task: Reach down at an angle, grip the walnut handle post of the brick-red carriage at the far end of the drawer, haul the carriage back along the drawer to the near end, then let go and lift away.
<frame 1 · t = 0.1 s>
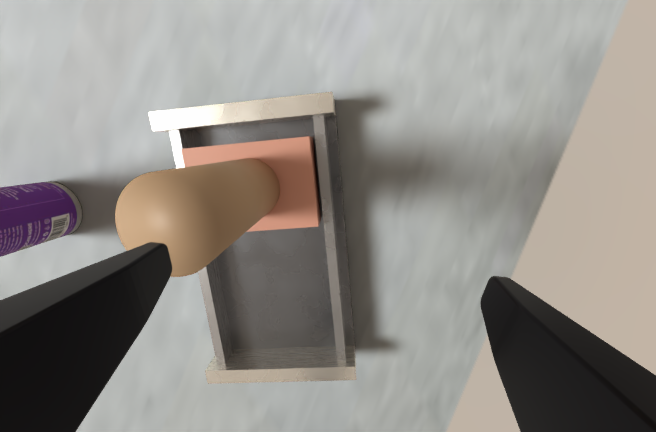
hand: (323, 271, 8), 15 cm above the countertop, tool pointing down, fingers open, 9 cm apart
container: (58, 208, 26), on the countertop
carriage: (229, 197, 17), point 7 cm above the countertop, slide at 5.0 cm
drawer: (273, 242, 25), on the countertop
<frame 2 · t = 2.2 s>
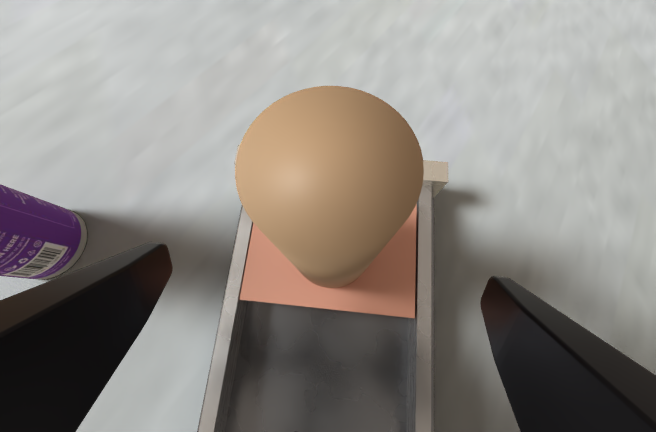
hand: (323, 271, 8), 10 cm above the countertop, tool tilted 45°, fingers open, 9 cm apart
container: (54, 243, 20), on the countertop
carriage: (331, 231, 12), point 7 cm above the countertop, slide at 5.0 cm
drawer: (323, 344, 17), on the countertop
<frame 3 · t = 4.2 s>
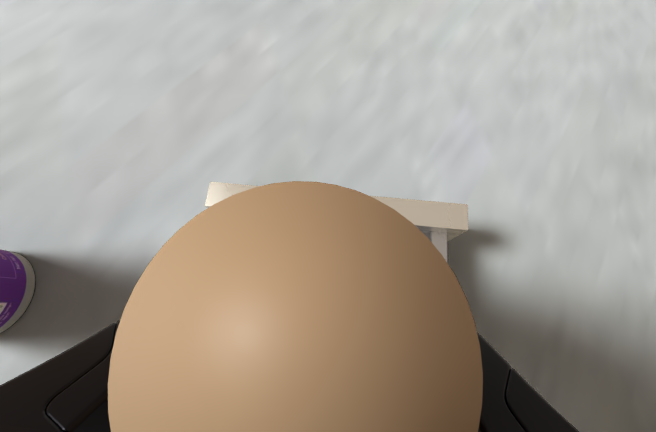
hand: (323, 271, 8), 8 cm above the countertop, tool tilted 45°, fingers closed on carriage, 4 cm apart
carriage: (319, 322, 9), point 7 cm above the countertop, slide at 5.0 cm, touching gripper
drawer: (315, 423, 14), on the countertop
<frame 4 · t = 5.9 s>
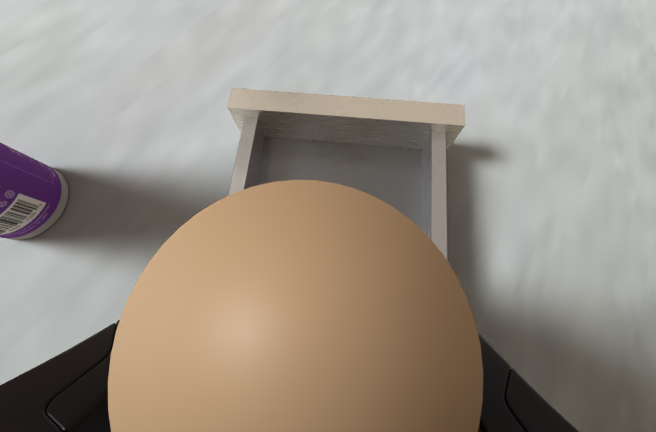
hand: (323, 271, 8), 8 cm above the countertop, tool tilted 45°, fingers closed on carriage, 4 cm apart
container: (32, 202, 18), on the countertop
carriage: (319, 321, 9), point 7 cm above the countertop, slide at -0.3 cm, touching gripper
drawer: (326, 307, 16), on the countertop
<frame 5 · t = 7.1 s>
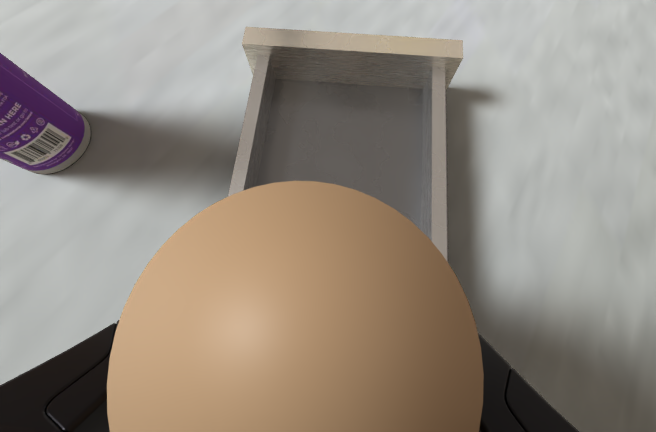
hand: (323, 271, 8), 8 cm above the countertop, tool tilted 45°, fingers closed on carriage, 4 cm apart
container: (57, 142, 19), on the countertop
carriage: (319, 322, 9), point 7 cm above the countertop, slide at -4.5 cm, touching gripper
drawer: (334, 232, 17), on the countertop
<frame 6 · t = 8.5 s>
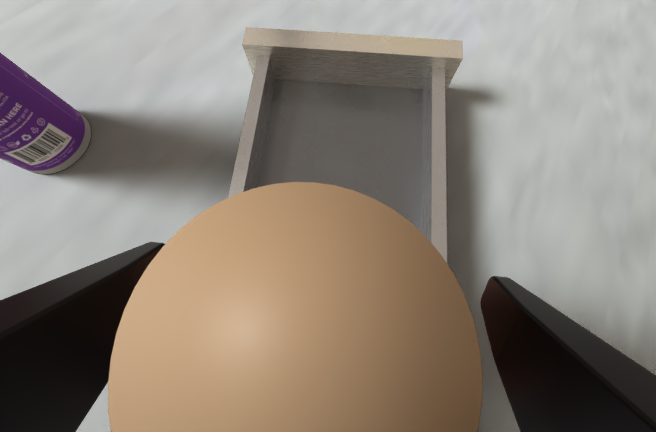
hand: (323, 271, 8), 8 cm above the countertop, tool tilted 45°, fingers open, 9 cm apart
container: (57, 142, 19), on the countertop
carriage: (319, 322, 9), point 7 cm above the countertop, slide at -4.5 cm
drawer: (334, 232, 17), on the countertop
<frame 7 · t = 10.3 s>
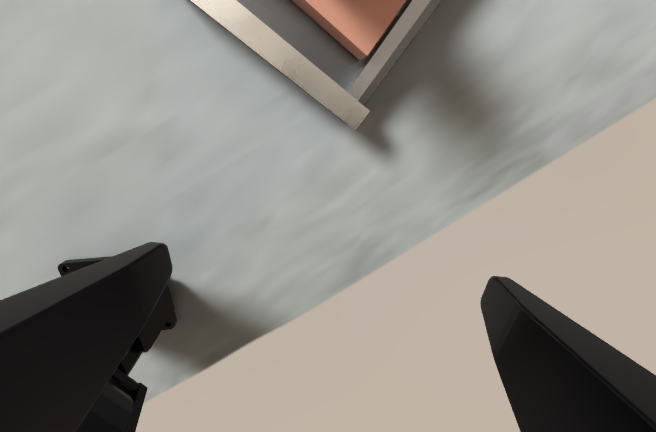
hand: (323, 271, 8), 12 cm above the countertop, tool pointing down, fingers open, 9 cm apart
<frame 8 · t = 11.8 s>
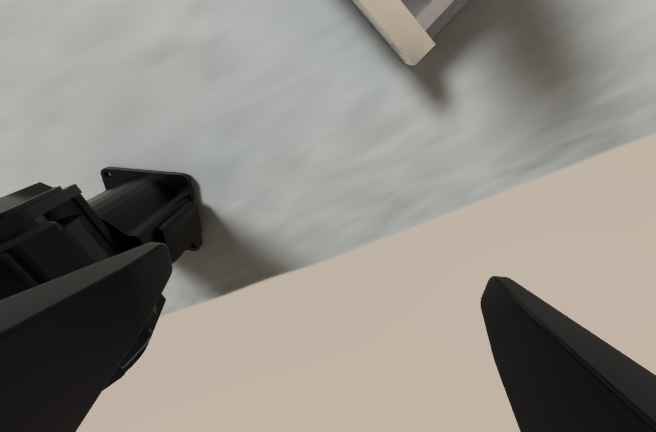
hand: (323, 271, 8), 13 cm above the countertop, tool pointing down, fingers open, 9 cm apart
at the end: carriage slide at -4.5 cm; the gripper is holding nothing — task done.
